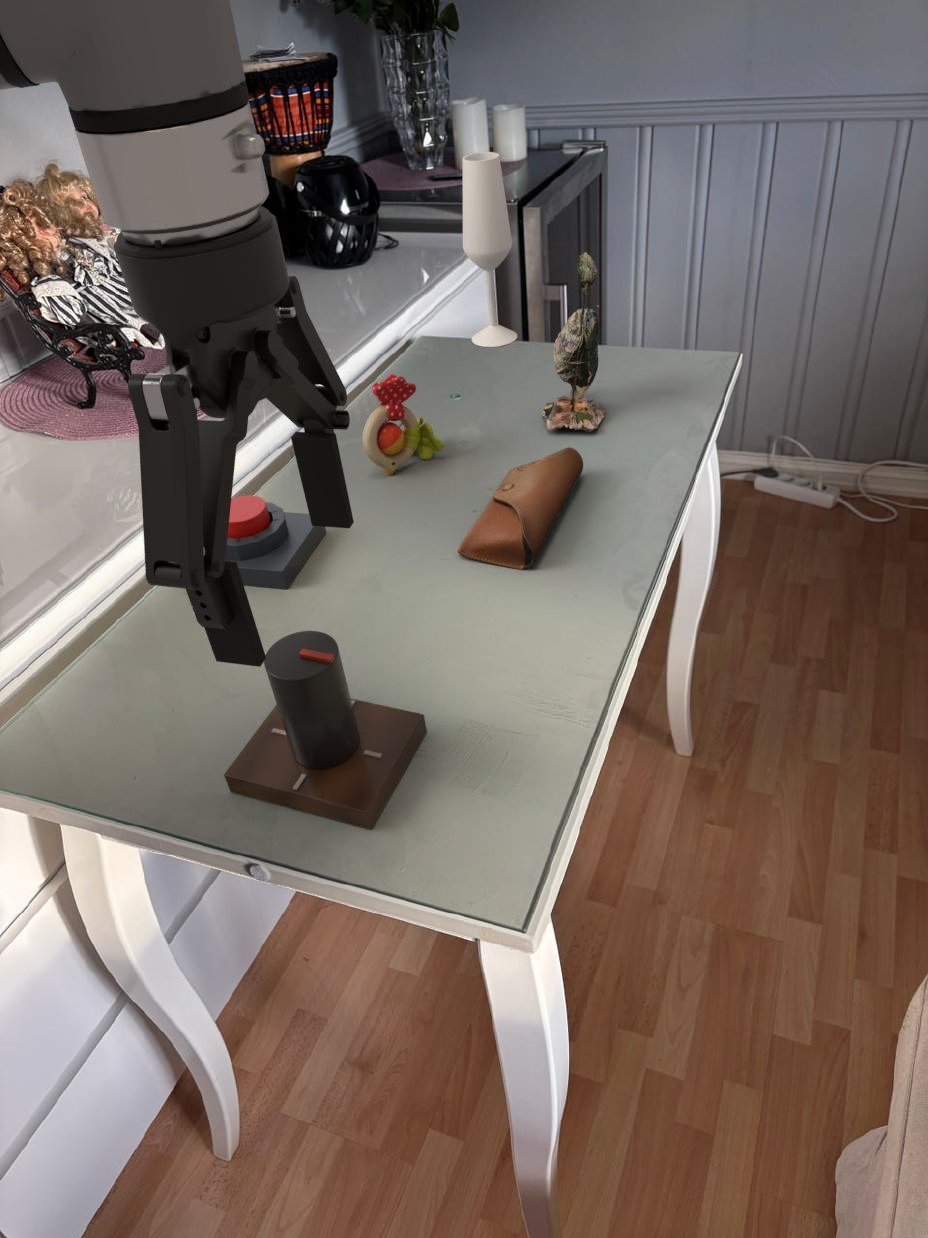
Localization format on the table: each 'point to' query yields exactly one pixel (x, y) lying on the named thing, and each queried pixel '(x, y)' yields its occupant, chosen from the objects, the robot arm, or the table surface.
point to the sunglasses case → (523, 511)
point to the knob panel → (336, 790)
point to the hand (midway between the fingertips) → (291, 586)
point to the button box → (275, 549)
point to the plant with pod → (577, 362)
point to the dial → (313, 698)
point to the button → (247, 516)
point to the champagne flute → (486, 233)
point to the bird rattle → (396, 427)
